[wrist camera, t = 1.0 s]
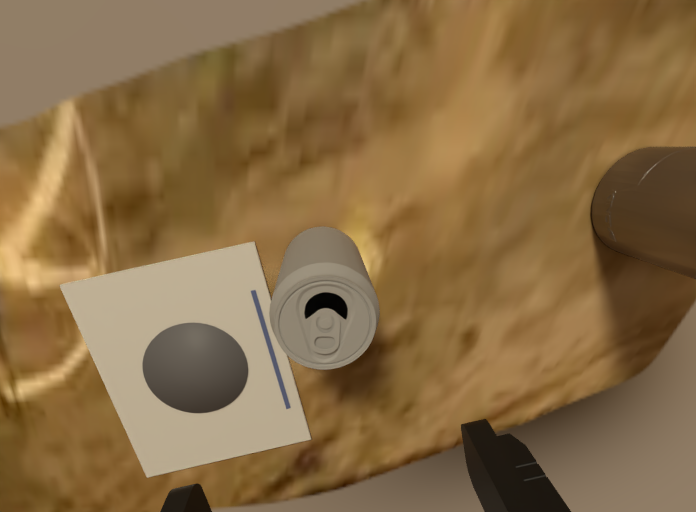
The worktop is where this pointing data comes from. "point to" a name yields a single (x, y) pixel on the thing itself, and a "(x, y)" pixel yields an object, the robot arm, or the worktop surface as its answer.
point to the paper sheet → (191, 358)
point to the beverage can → (323, 301)
